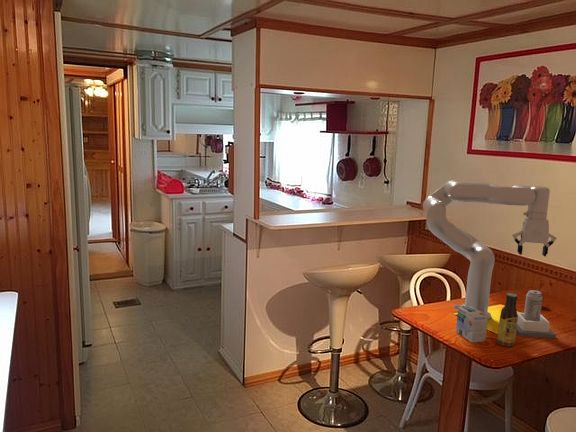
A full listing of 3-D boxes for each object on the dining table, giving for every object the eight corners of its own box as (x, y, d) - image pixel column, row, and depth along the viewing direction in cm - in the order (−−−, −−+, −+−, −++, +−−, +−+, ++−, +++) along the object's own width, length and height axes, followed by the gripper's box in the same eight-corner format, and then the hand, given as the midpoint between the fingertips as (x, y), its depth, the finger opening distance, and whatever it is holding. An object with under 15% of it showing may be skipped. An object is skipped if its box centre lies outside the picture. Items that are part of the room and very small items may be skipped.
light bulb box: (455, 331, 204) (457, 306, 202) (469, 330, 206) (471, 305, 204) (471, 343, 194) (474, 316, 192) (486, 341, 196) (489, 315, 194)
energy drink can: (536, 324, 210) (540, 290, 207) (540, 330, 204) (545, 294, 201) (521, 323, 211) (525, 288, 208) (524, 328, 205) (529, 293, 203)
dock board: (519, 335, 202) (520, 322, 201) (507, 322, 215) (509, 310, 214) (555, 338, 200) (557, 325, 199) (542, 324, 214) (543, 312, 213)
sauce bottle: (505, 348, 190) (511, 298, 186) (492, 342, 195) (498, 293, 192) (518, 346, 192) (524, 296, 189) (505, 339, 198) (511, 291, 194)
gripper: (517, 216, 210) (512, 255, 213) (561, 218, 207) (556, 258, 210) (512, 213, 217) (508, 251, 221) (555, 215, 214) (550, 254, 217)
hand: (532, 254), depth 215 cm, fingers open, 9 cm apart
